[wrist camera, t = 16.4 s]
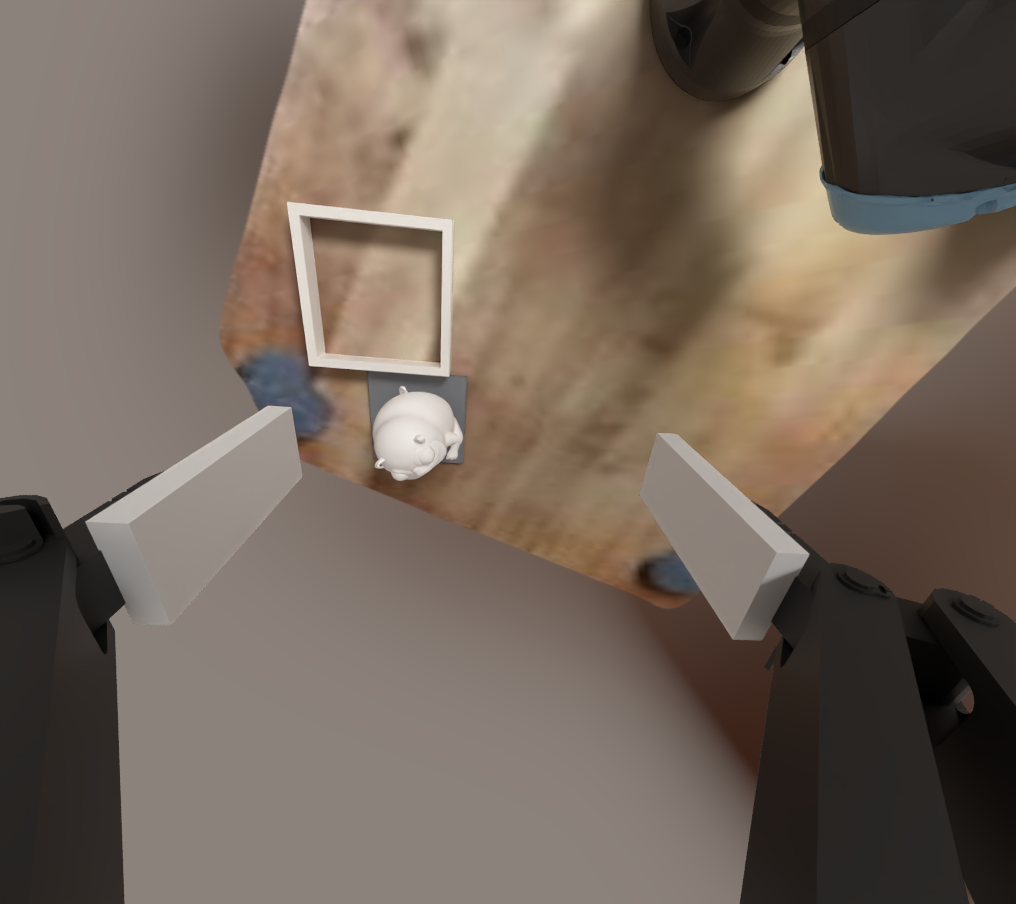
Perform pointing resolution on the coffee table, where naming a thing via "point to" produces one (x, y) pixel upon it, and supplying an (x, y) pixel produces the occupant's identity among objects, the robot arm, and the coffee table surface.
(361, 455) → the coffee table surface
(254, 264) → the coffee table surface
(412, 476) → the figurine
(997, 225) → the coffee table surface
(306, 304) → the bin frame
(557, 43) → the coffee table surface
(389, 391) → the coaster pad
